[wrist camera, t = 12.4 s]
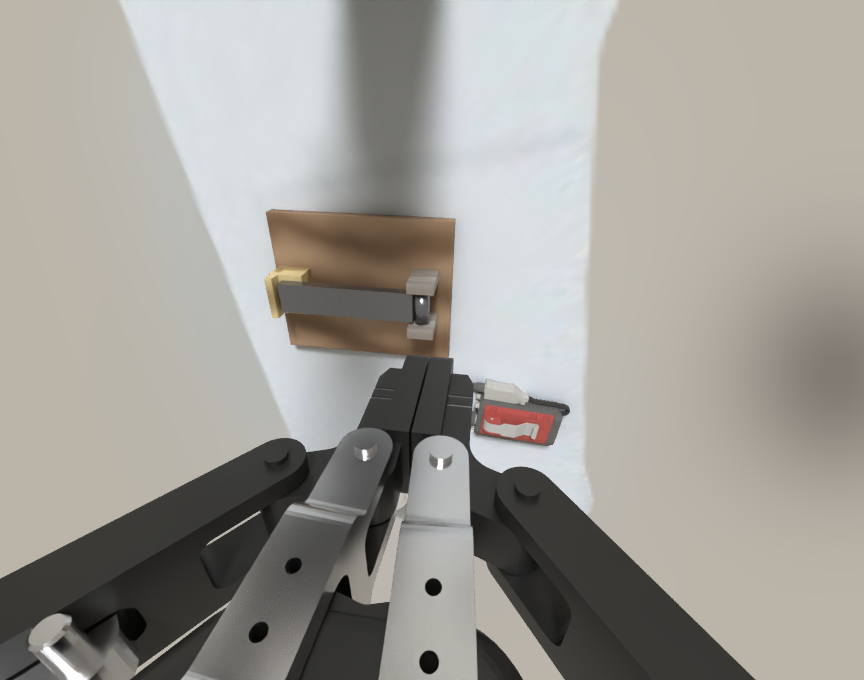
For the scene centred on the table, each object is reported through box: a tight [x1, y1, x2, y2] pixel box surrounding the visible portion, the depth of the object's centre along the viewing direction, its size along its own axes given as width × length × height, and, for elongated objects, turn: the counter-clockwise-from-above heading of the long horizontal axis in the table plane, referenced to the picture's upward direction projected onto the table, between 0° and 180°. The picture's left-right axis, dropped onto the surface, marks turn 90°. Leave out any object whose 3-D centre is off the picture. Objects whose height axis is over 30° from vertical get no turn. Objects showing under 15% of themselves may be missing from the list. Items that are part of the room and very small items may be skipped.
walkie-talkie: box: [471, 379, 570, 446], centre depth 56 cm, size 9×4×20 cm
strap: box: [277, 280, 430, 323], centre depth 46 cm, size 4×18×2 cm, turn 88°
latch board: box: [264, 209, 455, 358], centre depth 48 cm, size 18×22×6 cm
